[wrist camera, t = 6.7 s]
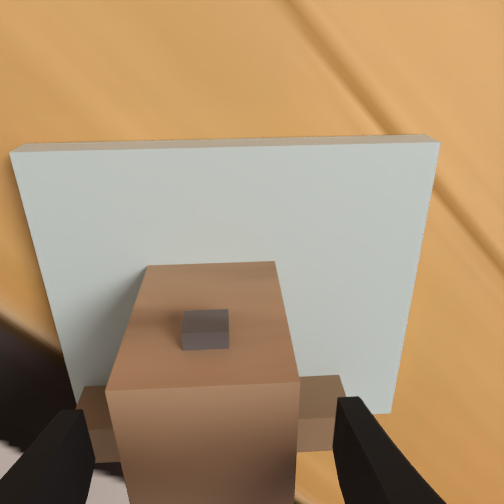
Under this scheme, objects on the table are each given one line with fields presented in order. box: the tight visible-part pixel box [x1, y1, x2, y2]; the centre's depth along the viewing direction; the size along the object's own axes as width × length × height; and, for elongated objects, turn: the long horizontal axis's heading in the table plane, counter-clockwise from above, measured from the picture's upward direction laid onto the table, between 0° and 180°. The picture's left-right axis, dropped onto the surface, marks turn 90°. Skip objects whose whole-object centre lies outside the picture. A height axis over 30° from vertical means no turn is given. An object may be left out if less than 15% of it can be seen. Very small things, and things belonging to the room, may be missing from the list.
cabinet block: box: [105, 261, 300, 504], centre depth 14 cm, size 6×4×6 cm
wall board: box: [9, 134, 441, 463], centre depth 16 cm, size 12×14×3 cm
